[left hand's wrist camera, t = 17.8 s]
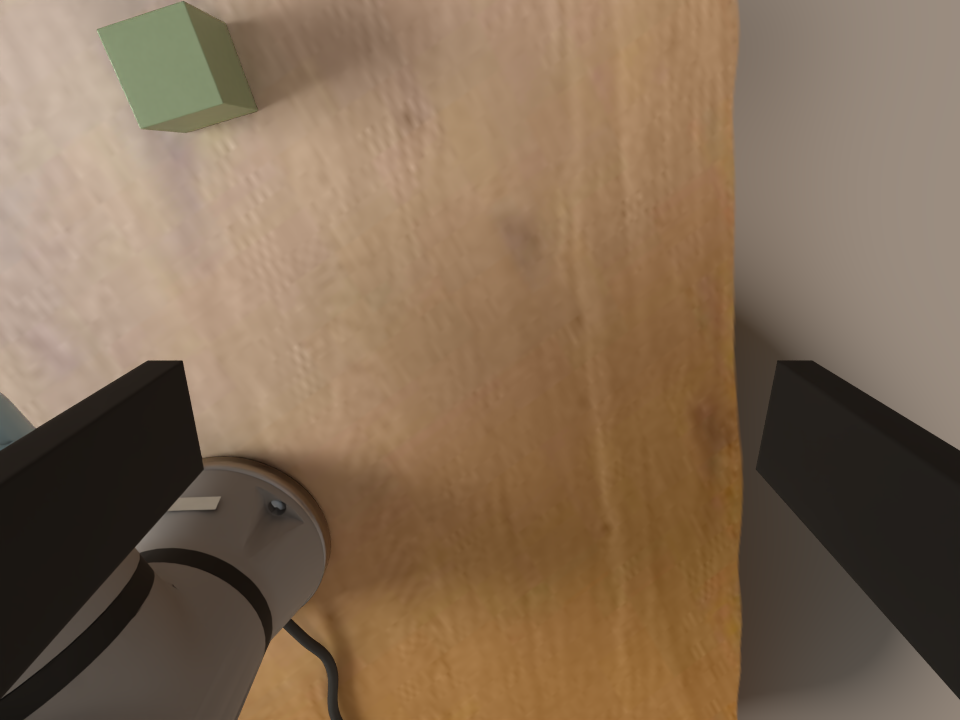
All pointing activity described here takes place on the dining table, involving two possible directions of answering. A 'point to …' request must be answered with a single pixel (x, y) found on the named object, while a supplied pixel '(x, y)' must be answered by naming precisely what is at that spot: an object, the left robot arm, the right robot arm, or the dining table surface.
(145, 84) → the sage block
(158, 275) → the dining table surface
